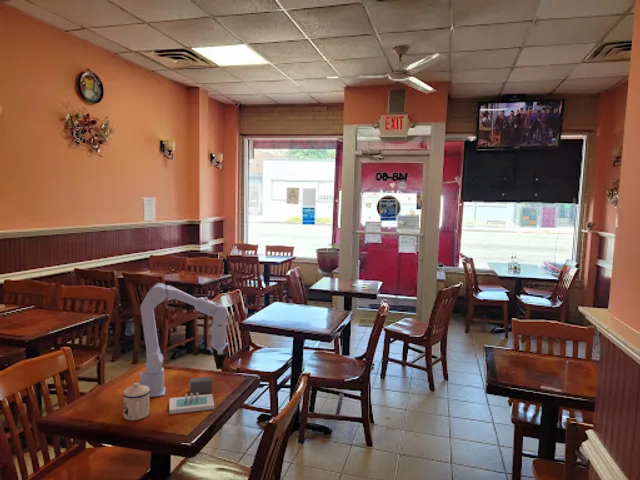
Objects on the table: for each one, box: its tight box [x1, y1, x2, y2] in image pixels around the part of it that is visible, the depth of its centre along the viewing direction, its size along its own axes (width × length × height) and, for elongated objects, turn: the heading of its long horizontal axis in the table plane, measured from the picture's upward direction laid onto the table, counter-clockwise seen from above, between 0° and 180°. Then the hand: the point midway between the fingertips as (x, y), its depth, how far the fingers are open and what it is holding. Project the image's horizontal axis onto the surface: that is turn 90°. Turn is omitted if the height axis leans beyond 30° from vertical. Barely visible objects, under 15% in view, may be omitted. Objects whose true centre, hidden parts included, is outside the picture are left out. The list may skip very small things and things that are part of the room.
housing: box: [189, 376, 213, 395], centre depth 175 cm, size 9×4×5 cm, turn 108°
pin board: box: [168, 393, 215, 415], centre depth 162 cm, size 16×10×5 cm, turn 108°
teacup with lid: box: [122, 382, 150, 421], centre depth 152 cm, size 12×9×12 cm
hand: (218, 365), depth 178 cm, fingers open, 7 cm apart
